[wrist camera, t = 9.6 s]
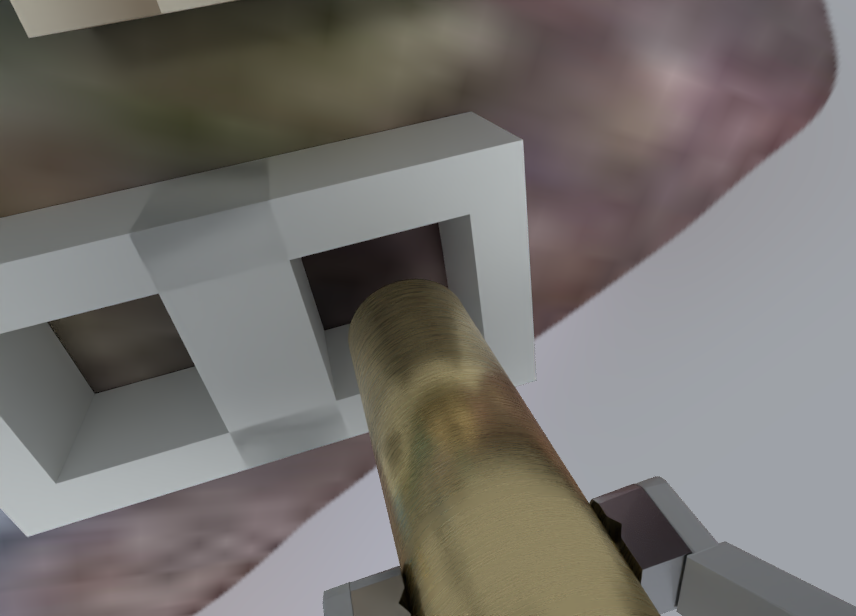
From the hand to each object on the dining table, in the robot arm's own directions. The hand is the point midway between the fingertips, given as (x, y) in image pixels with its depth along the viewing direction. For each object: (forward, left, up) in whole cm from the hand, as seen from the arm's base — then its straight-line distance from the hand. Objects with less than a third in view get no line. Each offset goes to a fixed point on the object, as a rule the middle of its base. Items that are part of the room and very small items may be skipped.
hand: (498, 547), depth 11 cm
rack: (-5, 0, -14) cm, 15 cm away
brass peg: (0, 0, -8) cm, 8 cm away
